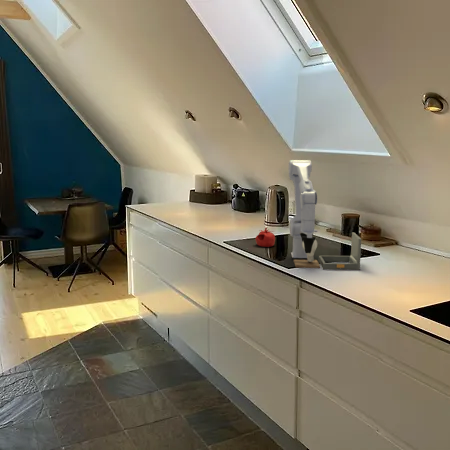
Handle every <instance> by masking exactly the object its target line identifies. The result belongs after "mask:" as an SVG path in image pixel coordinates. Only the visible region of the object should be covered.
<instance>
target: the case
mask: <svg viewBox="0 0 450 450" xmlns="http://www.w3.org/2000/svg"><path fill="white" fill-rule="evenodd" d="M350 245H351V247H350V248H351V250H350V255H318V263H319V265H320V267H321V268H322V270H332V271H333V270H335V271H337V270H341V271H346V270H347V271H360V270H361V255H362V238H361V237H360V236H359V235H358V234H356V232H351V244H350Z"/></svg>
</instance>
